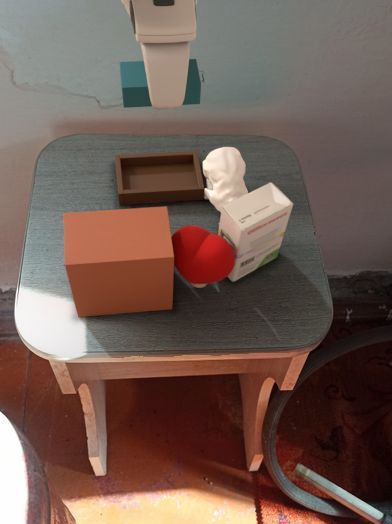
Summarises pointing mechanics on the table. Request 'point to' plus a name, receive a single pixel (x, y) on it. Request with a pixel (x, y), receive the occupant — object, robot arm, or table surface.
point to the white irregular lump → (224, 176)
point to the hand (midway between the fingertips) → (159, 89)
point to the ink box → (255, 228)
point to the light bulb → (201, 255)
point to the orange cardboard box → (119, 260)
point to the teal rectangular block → (137, 84)
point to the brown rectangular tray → (159, 177)
